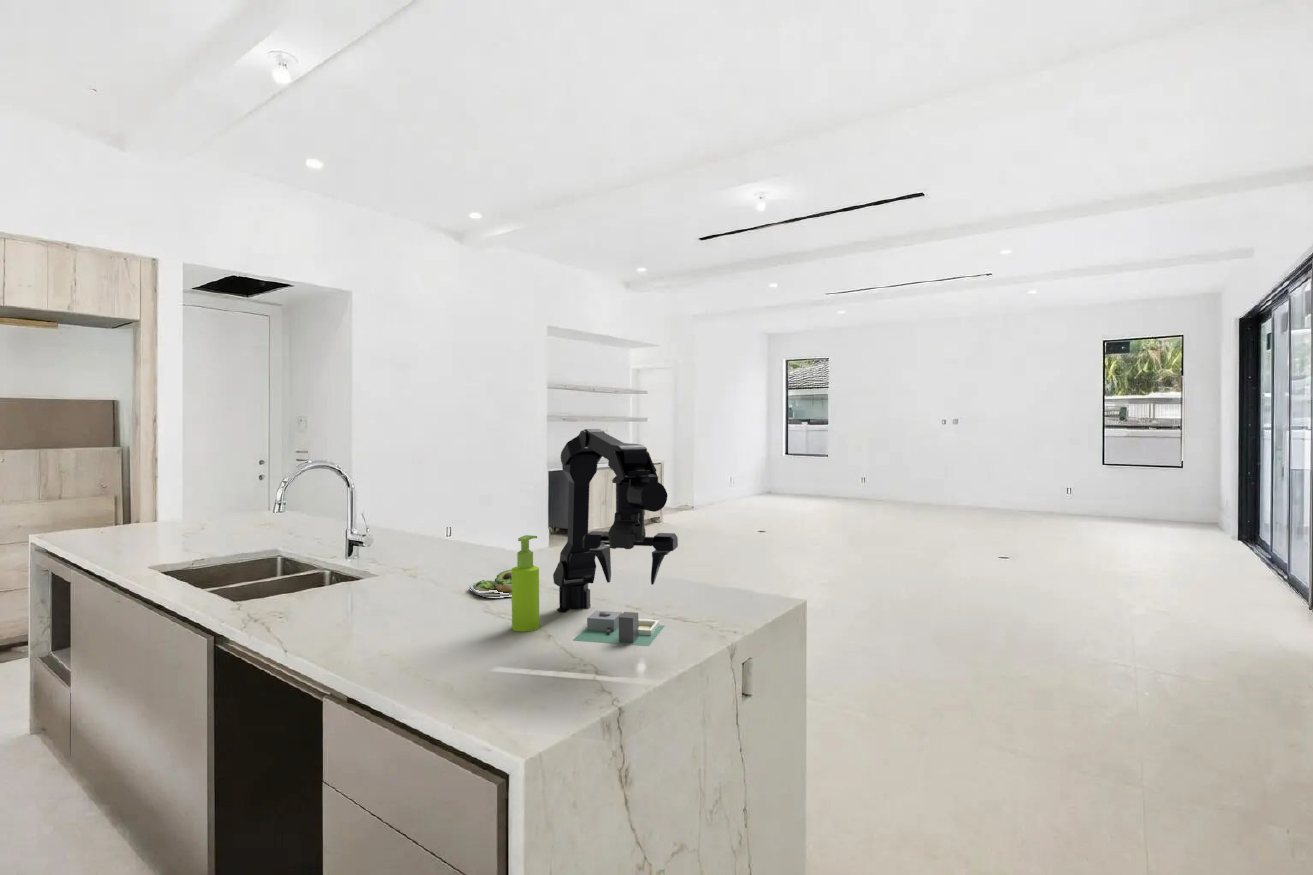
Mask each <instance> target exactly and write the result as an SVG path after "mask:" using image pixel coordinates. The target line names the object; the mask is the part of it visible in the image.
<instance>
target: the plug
mask: <svg viewBox="0 0 1313 875" xmlns="http://www.w3.org/2000/svg"><path fill="white" fill-rule="evenodd" d="M638 619H639V612H635V611H624V612H622V615H620V616H619V642H627V643H634V642H635V640H636V639H637V638H638Z"/></svg>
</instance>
